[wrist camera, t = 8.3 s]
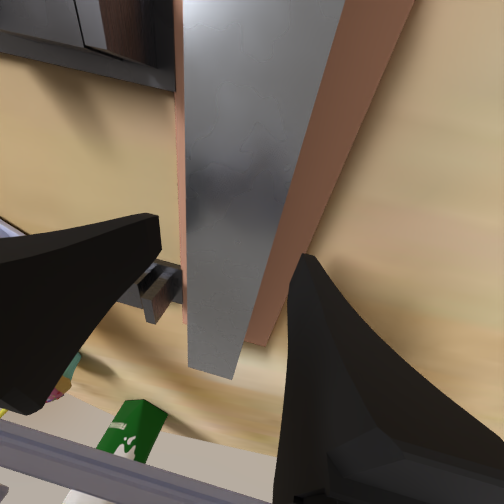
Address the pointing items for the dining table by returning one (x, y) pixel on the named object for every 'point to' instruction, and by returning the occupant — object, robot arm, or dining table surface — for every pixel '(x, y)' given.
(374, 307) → the dining table surface
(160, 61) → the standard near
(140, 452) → the milk carton
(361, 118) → the mat
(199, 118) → the rail
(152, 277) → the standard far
